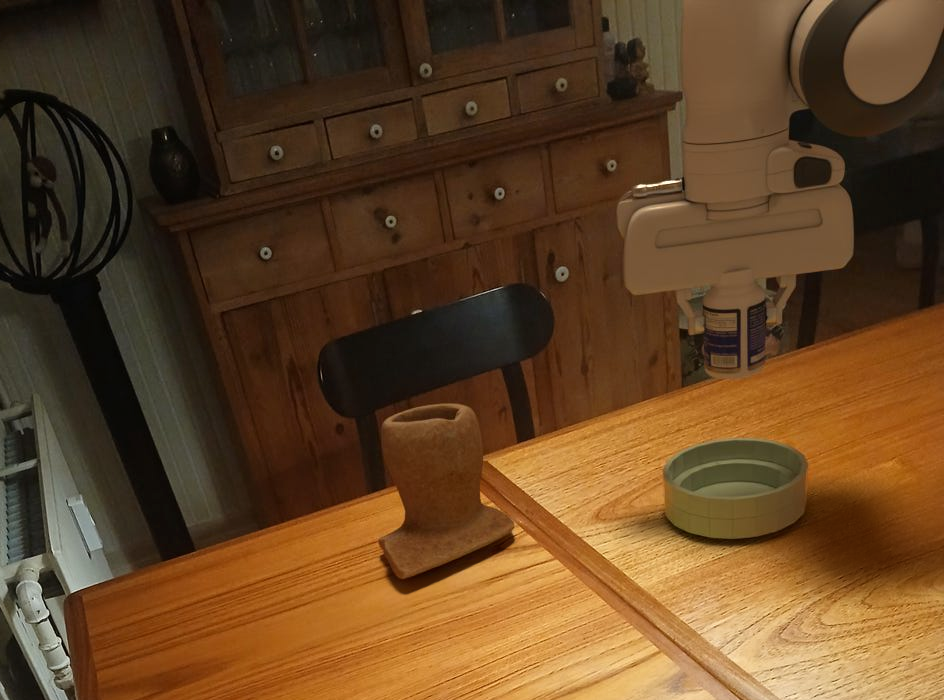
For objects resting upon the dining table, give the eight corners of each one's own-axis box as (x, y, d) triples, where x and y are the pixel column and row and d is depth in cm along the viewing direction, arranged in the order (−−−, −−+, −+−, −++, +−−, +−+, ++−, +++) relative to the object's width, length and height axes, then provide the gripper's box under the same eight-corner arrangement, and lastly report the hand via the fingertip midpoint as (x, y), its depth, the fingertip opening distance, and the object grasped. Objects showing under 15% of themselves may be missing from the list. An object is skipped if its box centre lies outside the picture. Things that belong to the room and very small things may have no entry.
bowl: (791, 474, 108) (792, 431, 105) (818, 536, 96) (821, 490, 93) (659, 487, 110) (657, 445, 107) (671, 550, 98) (669, 505, 95)
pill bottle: (750, 355, 98) (751, 252, 93) (775, 373, 93) (777, 265, 88) (695, 367, 98) (693, 264, 92) (717, 385, 93) (716, 278, 88)
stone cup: (472, 505, 113) (451, 379, 105) (530, 540, 104) (513, 406, 96) (355, 553, 108) (324, 425, 100) (407, 594, 99) (377, 457, 91)
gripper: (616, 194, 85) (625, 352, 92) (864, 158, 81) (853, 324, 89) (613, 181, 90) (622, 331, 97) (846, 146, 87) (837, 304, 94)
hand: (734, 328), depth 93 cm, fingers closed on pill bottle, 6 cm apart
